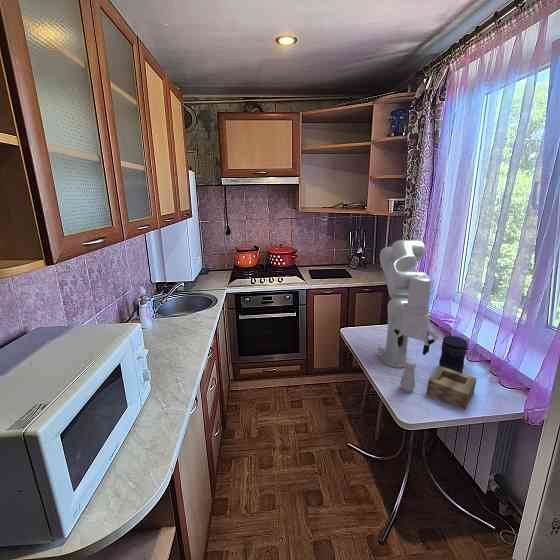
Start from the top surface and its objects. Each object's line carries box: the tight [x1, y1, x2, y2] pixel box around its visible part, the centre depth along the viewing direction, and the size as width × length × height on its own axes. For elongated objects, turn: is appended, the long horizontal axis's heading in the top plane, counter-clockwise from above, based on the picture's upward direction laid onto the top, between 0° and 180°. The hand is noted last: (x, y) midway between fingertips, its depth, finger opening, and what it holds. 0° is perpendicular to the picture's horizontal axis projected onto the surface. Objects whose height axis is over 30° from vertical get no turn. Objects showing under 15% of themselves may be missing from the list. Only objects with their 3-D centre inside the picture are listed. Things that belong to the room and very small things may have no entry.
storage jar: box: [438, 335, 469, 374], centre depth 144 cm, size 10×10×15 cm
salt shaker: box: [399, 359, 417, 393], centre depth 131 cm, size 6×6×13 cm
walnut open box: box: [425, 365, 478, 411], centre depth 129 cm, size 14×14×7 cm
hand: (412, 349), depth 127 cm, fingers open, 9 cm apart
